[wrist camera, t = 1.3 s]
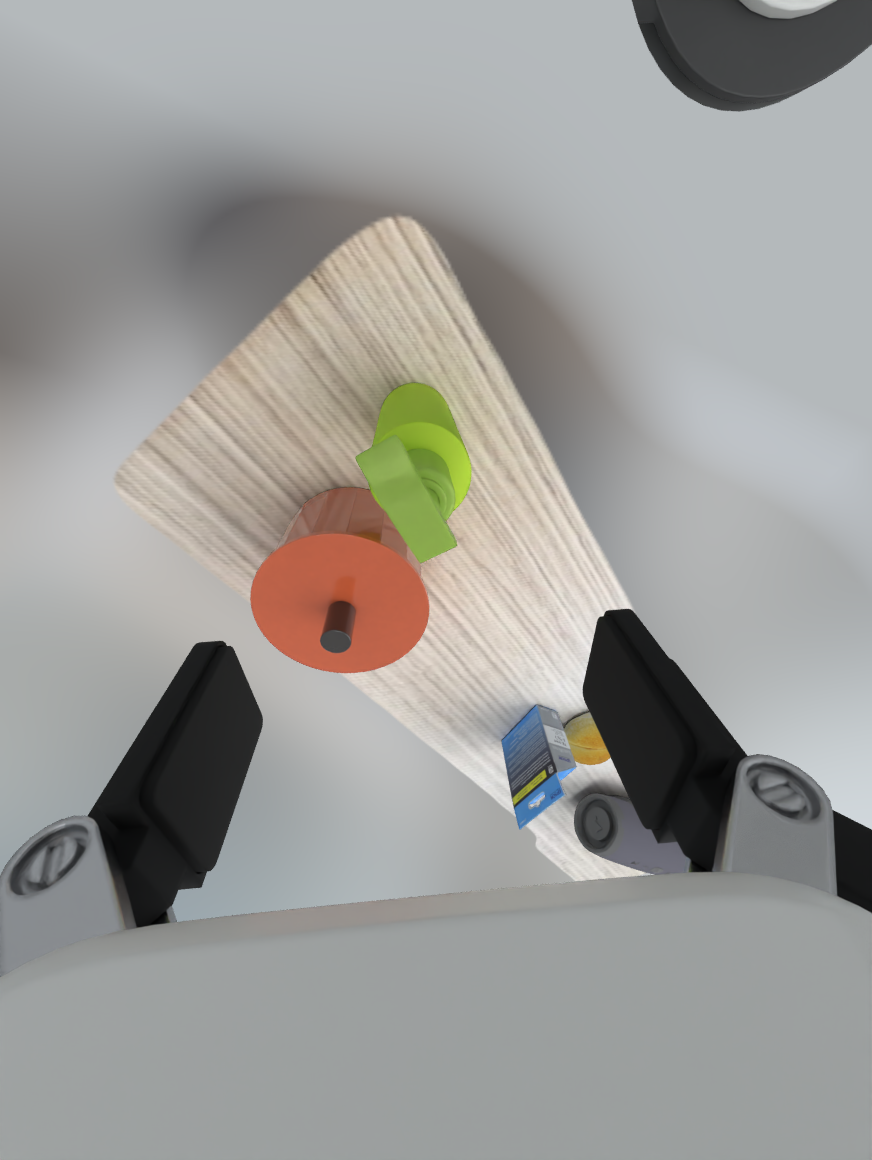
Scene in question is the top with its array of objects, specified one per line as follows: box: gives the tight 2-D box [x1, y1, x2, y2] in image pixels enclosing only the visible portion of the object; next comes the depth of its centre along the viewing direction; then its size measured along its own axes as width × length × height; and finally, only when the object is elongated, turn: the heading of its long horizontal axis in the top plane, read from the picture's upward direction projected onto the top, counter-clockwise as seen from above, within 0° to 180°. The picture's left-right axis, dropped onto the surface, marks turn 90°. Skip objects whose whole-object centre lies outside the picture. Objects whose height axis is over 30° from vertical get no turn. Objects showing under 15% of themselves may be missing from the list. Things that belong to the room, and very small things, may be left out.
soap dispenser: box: [356, 383, 471, 563], centre depth 25 cm, size 6×7×20 cm
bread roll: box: [564, 712, 610, 765], centre depth 57 cm, size 8×9×4 cm
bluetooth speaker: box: [574, 793, 686, 875], centre depth 68 cm, size 23×9×10 cm, turn 56°
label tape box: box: [502, 705, 577, 830], centre depth 52 cm, size 9×4×12 cm, turn 152°
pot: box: [276, 487, 422, 578], centre depth 36 cm, size 13×13×10 cm
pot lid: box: [251, 531, 429, 673], centre depth 31 cm, size 14×14×5 cm
